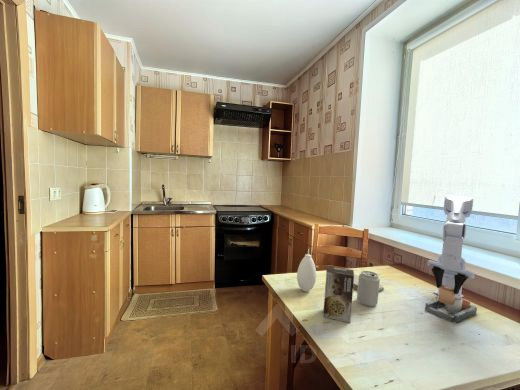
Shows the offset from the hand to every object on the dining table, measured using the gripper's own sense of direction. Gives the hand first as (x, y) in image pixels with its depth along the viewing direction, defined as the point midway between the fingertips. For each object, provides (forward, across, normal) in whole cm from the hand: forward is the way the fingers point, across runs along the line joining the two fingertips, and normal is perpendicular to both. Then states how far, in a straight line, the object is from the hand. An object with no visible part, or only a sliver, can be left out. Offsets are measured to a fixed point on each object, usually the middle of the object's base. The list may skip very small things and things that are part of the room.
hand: (447, 290), depth 95 cm
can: (+9, -18, -22) cm, 29 cm away
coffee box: (+9, -16, -41) cm, 44 cm away
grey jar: (+9, 0, +6) cm, 11 cm away
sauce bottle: (+9, -36, -38) cm, 53 cm away
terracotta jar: (+4, 0, 0) cm, 4 cm away
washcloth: (+10, -31, -9) cm, 34 cm away
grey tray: (+9, 0, +4) cm, 10 cm away
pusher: (+9, 0, +10) cm, 13 cm away
